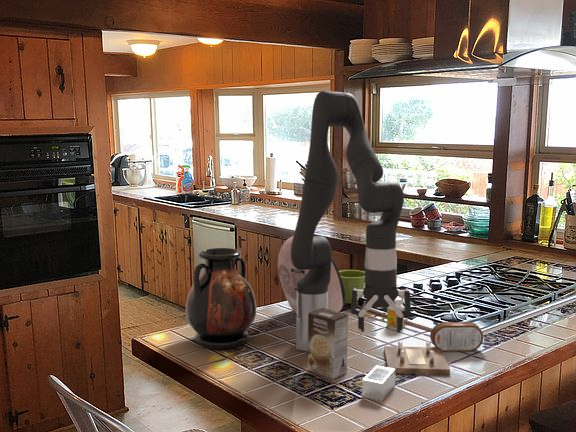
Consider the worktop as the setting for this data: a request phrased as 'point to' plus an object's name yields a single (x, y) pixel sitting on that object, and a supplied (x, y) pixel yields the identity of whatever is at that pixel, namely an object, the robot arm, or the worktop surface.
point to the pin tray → (416, 359)
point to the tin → (456, 336)
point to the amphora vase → (220, 300)
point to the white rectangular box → (378, 382)
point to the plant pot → (352, 282)
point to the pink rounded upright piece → (292, 275)
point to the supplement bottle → (394, 314)
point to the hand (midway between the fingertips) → (380, 331)
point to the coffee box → (327, 342)
